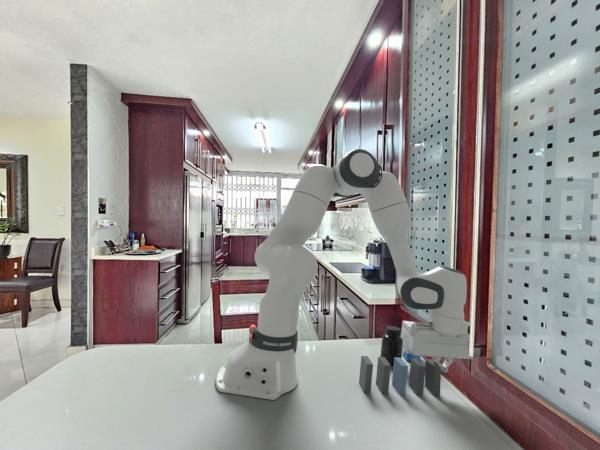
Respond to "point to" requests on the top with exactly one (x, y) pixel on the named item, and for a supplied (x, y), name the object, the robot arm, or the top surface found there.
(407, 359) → the ink box
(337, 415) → the top surface
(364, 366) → the domino
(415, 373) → the domino
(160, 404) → the top surface
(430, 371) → the domino
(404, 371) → the domino
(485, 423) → the top surface
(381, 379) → the domino
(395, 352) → the supplement bottle
